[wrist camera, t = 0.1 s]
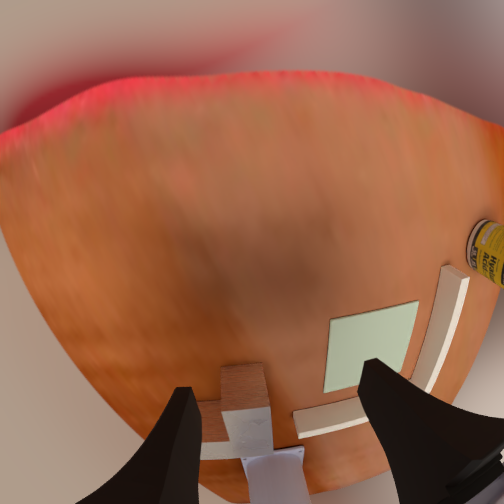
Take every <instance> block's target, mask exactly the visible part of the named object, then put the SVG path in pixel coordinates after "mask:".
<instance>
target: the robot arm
mask: <svg viewBox="0 0 504 504" xmlns="http://www.w3.org/2000/svg"><path fill="white" fill-rule="evenodd" d="M357 393H358V396H359V399H360V401H361V404H362V407H363V410H364V412H365V414H366V416H367V418H368V420H369V422H370V424H371V426H372V427H373V429H374V431H375V433H376V435H377V437H378V439H379V441H380V443H381V445H382V447H383V449H384V451H385V453H386V456H387V459H388V462H389V465H390V468H391V471H392V474H393V478H394V481H395V485H396V489H397V493H398V497H399V502H400V504H504V462H503V463H501V461H500V460H501V459H502V455H501V453H500V452H501V451H502V450H503V449H504V419H503V418H495V417H488V416H484V415H479V414H475V413H472V412H469V411H465V410H463V409H460V408H457V407H455V406H452V405H450V404H448V403H446V402H444V401H441V400H439V399H437V398H436V397H434V396H432V395H430V394H428V393H427V392H425V391H423V390H422V389H420V388H419V387H417V386H416V385H414V384H413V383H411V382H410V381H408V380H407V379H405V378H404V377H402V376H401V375H400V374H398V373H397V372H396V371H394V370H393V369H392V368H390V367H389V366H388V365H386V364H385V363H384V362H382V361H381V360H379V359H378V358H373V359H369V360H366V361H364V365H363V369H362V374H361V378H360V382H359V387H358V391H357ZM201 445H202V415H201V413H200V410H199V407H198V405H197V402H196V399H195V396H194V393H193V390H192V387H177V388H176V389H175V390H174V392H173V394H172V396H171V398H170V400H169V402H168V404H167V406H166V407H165V409H164V411H163V413H162V415H161V416H160V418H159V420H158V421H157V423H156V425H155V426H154V428H153V429H152V431H151V432H150V434H149V435H148V437H147V438H146V440H145V441H144V443H143V444H142V445H141V447H140V448H139V449H138V451H137V452H136V453H135V454H134V455H133V457H132V458H131V459H130V460H129V461H128V462H127V463H126V464H125V465H124V466H123V467H122V468H121V470H119V472H117V474H115V475H114V476H113V477H112V478H111V479H110V480H108V481H107V482H106V483H105V484H103V485H102V486H101V487H100V488H99V489H97V490H96V491H94V492H93V493H92V494H90V495H88V496H87V497H85V498H84V499H82V500H80V501H79V502H77V503H75V504H199V497H198V477H199V466H200V455H201ZM273 451H274V454H271V455H263V456H255V457H245V458H241V461H242V464H243V467H244V471H245V474H246V477H247V480H248V486H249V495H250V504H311V501H310V498H309V493H308V489H307V485H306V481H305V477H304V473H303V469H302V464H303V456H304V446H297V447H292V448H286V449H280V450H273Z"/></svg>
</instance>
